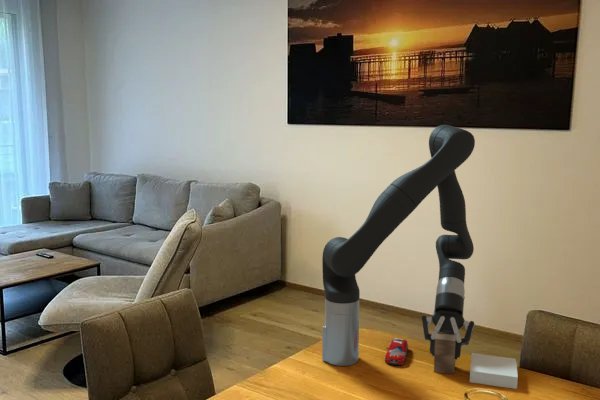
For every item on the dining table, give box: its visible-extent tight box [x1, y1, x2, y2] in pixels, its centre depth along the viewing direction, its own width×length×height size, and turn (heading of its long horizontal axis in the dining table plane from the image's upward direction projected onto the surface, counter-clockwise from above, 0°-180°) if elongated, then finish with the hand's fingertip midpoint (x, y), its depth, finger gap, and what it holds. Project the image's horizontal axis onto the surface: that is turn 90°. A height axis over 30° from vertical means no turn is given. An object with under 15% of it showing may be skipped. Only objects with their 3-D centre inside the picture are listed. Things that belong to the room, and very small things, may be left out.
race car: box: [384, 338, 409, 366], centre depth 152 cm, size 13×5×4 cm, turn 161°
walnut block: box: [433, 332, 456, 375], centre depth 144 cm, size 5×5×9 cm
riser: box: [469, 352, 519, 390], centre depth 141 cm, size 11×11×3 cm
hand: (444, 356), depth 143 cm, fingers closed on walnut block, 5 cm apart
